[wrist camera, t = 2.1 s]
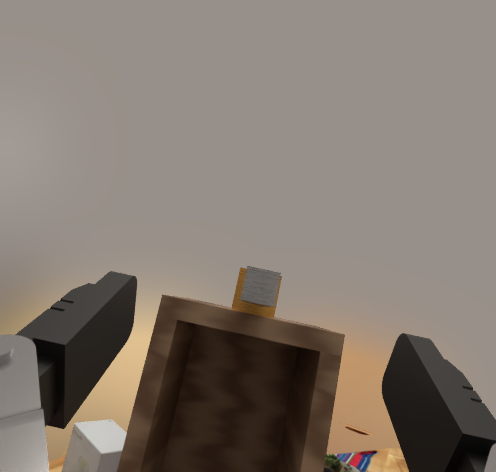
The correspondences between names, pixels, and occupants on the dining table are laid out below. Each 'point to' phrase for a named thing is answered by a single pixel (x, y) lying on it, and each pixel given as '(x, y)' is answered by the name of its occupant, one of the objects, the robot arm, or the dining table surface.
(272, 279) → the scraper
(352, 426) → the dining table surface
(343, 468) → the salad plate
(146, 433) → the walnut shelf
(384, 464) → the dining table surface
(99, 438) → the skincare box
